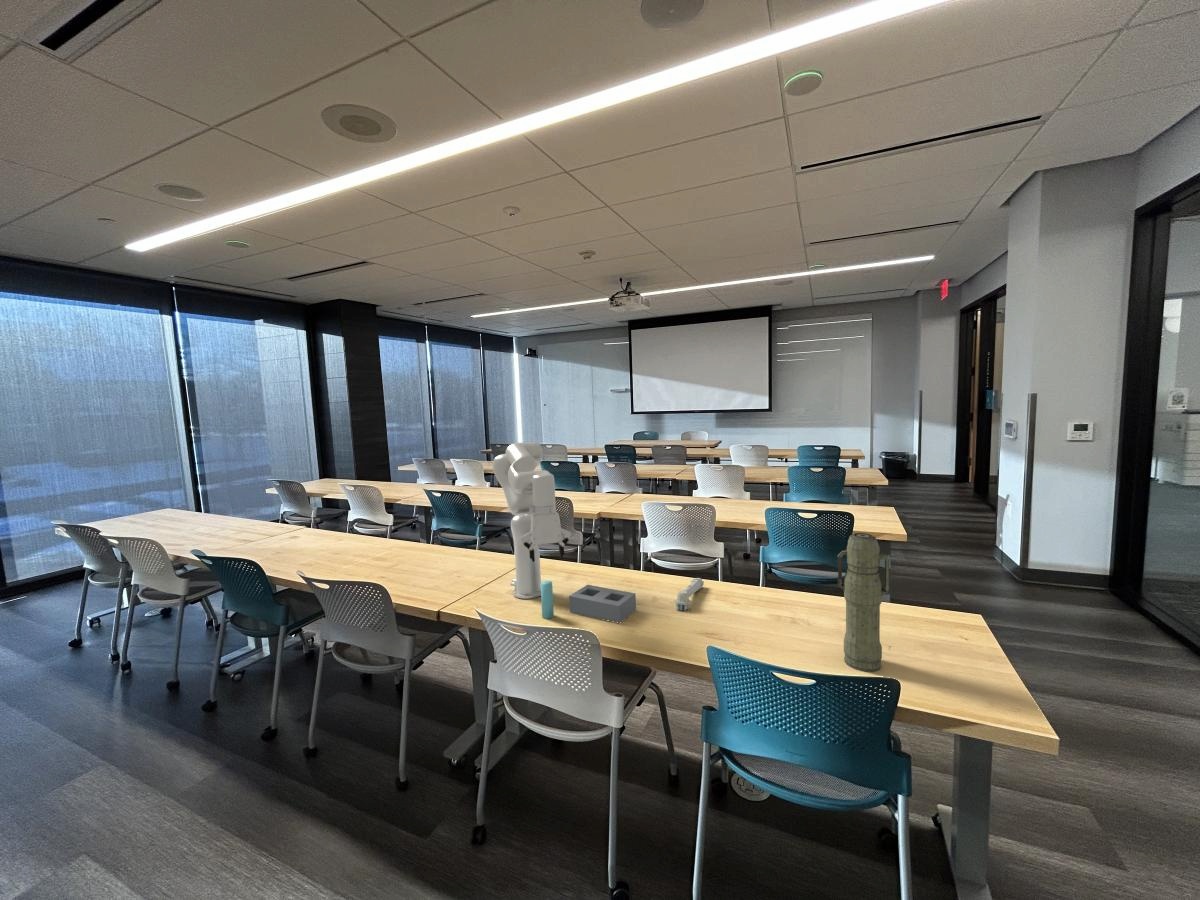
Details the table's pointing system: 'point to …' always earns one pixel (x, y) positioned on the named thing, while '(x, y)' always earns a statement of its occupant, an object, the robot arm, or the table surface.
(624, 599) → the hole block
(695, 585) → the grey handheld tool
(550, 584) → the teal dowel
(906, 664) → the table surface
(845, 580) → the thermos
